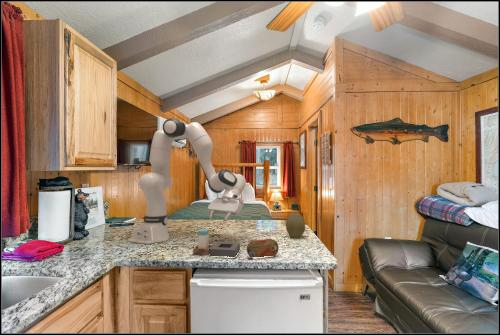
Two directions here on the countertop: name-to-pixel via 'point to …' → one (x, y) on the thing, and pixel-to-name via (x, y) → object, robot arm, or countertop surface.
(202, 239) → the blue capped bottle
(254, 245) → the tin
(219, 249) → the port
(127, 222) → the countertop surface
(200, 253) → the brown shallow square box
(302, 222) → the olive brown vase
